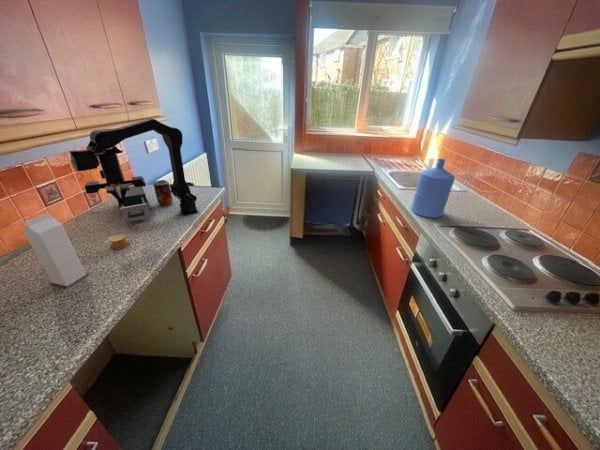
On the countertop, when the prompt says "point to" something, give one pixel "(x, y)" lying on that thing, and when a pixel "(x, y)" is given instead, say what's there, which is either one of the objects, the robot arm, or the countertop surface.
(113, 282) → the countertop surface
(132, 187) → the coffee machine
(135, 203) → the drawer
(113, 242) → the coffee pod
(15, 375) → the countertop surface
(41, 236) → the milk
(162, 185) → the red food can
